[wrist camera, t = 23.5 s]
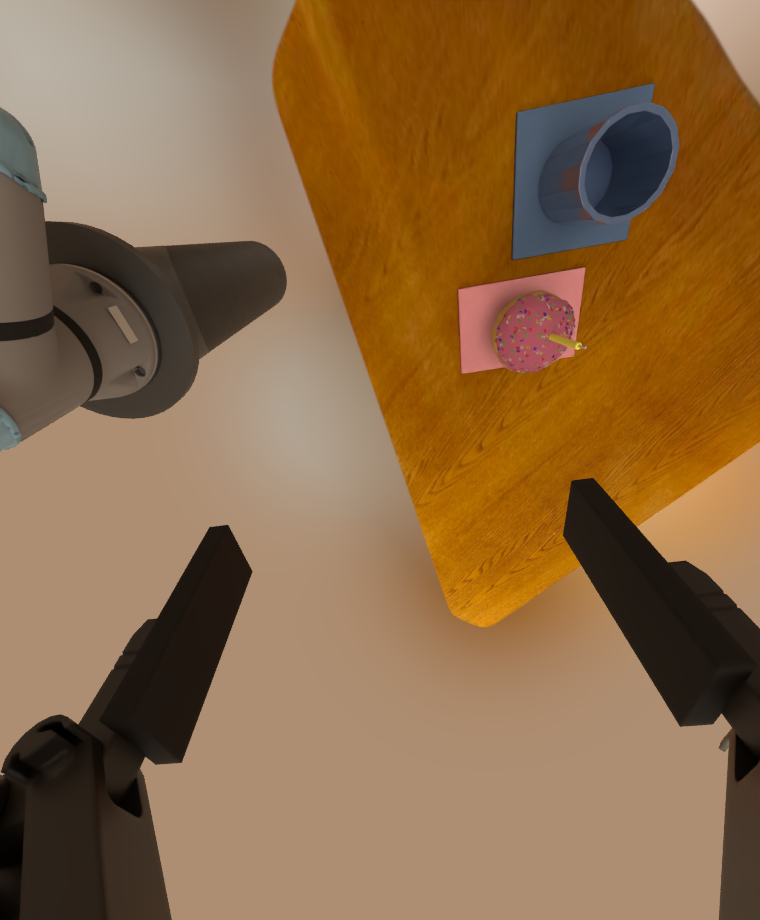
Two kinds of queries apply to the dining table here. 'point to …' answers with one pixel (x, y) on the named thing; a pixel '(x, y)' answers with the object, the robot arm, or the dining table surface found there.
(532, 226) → the blue mat
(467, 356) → the rose mat
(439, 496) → the dining table surface
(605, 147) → the blue cup
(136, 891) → the robot arm
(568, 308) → the cupcake
